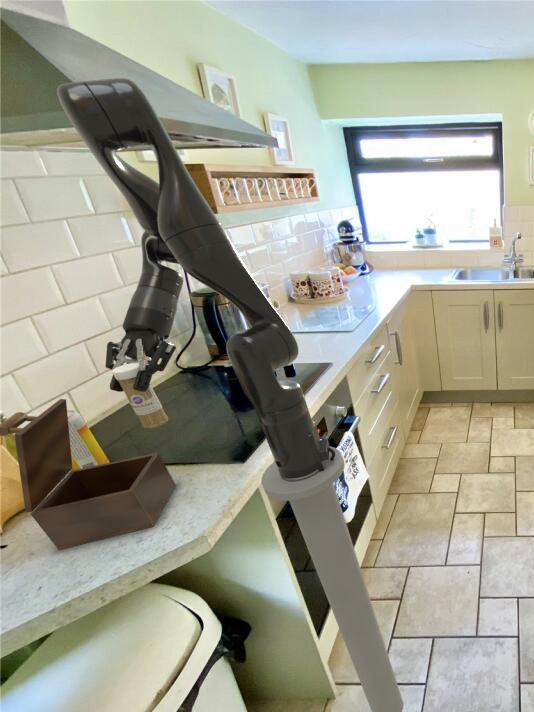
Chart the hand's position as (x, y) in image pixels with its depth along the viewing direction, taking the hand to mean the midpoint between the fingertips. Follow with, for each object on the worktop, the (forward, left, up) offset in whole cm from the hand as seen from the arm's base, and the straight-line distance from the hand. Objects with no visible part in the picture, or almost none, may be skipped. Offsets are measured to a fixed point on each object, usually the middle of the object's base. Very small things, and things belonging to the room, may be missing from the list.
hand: (128, 390), depth 83 cm
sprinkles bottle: (-1, -2, -9) cm, 9 cm away
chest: (+6, +11, -22) cm, 25 cm away
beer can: (+19, -9, -22) cm, 30 cm away
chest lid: (+10, +11, -5) cm, 15 cm away
